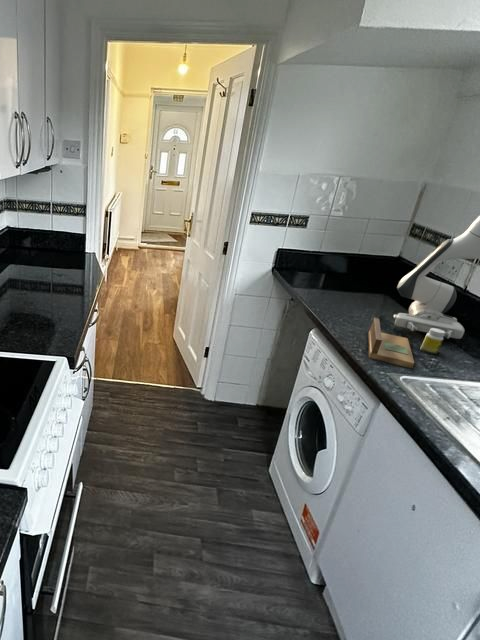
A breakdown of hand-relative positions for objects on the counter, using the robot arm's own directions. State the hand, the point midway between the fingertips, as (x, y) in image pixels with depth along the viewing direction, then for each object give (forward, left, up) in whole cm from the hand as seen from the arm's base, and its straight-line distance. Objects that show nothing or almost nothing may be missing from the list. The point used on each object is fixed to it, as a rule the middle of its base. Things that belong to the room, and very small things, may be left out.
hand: (430, 332), depth 147 cm
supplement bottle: (0, +7, -5) cm, 8 cm away
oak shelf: (+12, +14, -5) cm, 19 cm away
